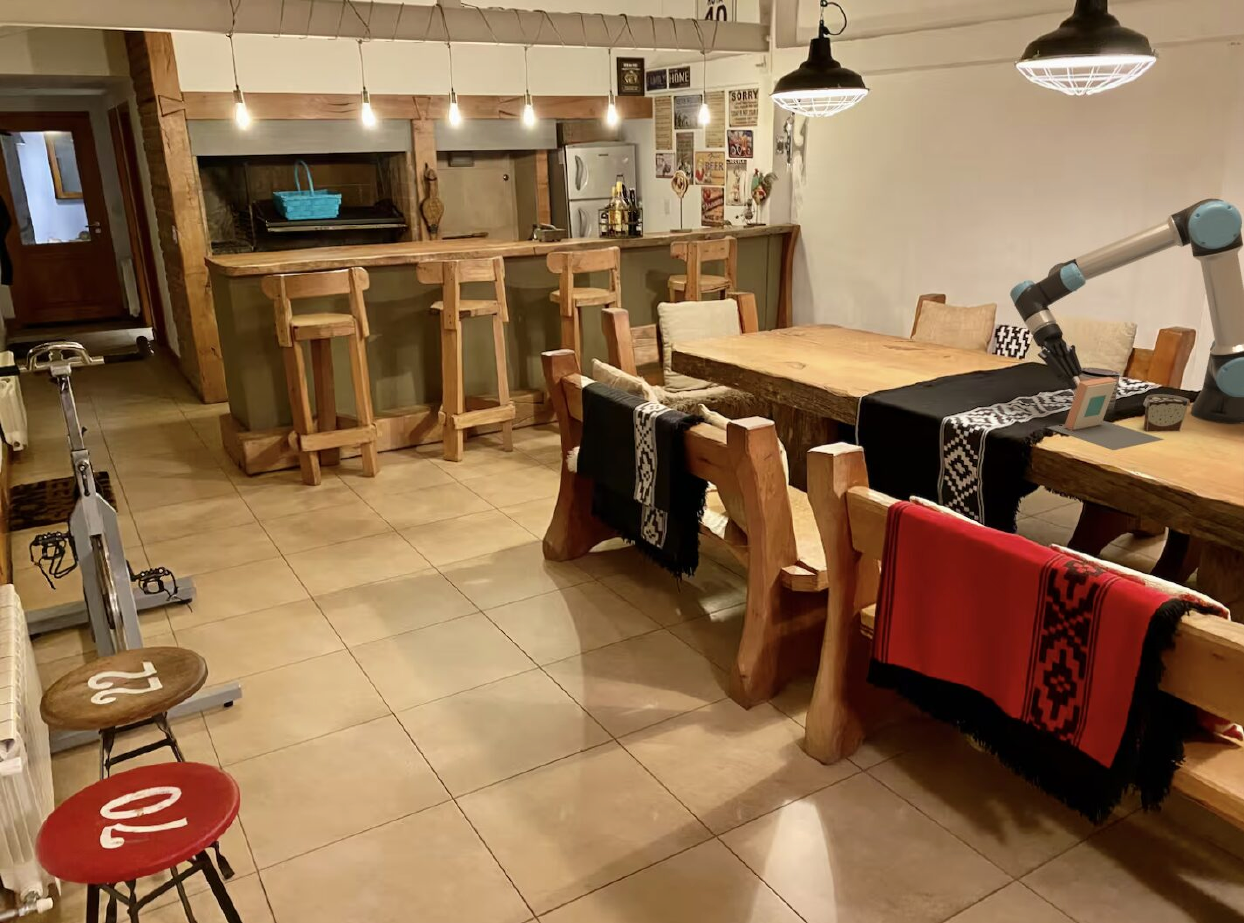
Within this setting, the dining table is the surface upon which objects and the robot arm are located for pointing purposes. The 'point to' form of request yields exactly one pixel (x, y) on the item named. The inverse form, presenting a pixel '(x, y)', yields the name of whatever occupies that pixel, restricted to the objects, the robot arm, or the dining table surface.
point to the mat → (1108, 435)
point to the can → (1101, 373)
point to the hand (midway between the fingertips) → (1083, 398)
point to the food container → (1164, 412)
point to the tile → (1090, 403)
